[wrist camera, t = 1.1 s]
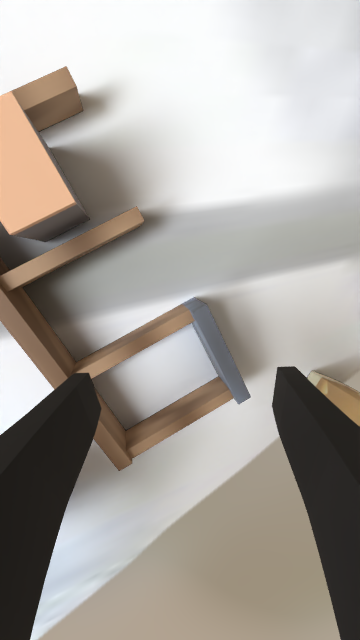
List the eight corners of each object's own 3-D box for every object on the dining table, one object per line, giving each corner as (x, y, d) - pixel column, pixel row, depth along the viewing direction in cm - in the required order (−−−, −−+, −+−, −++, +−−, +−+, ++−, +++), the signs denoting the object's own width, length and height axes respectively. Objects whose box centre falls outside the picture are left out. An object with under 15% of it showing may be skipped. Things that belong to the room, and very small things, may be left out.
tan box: (45, 241, 18) (9, 234, 12) (-1, 171, 17) (-66, 125, 11) (89, 219, 18) (74, 201, 13) (48, 147, 17) (10, 90, 11)
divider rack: (119, 445, 23) (119, 476, 20) (-88, 168, 16) (-146, 144, 12) (233, 378, 24) (250, 397, 21) (90, 86, 16) (82, 43, 13)
